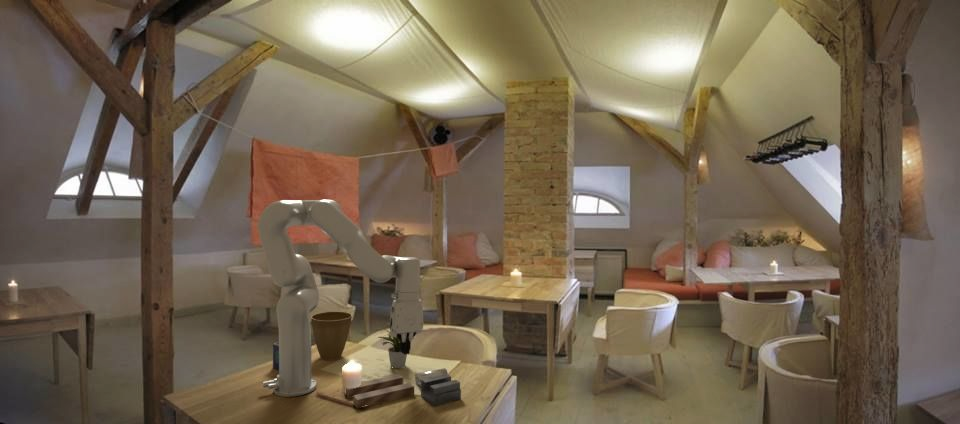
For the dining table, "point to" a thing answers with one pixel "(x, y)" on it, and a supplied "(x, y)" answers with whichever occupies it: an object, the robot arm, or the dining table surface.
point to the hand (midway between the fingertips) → (405, 352)
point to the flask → (276, 356)
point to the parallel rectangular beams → (380, 391)
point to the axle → (429, 375)
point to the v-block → (440, 390)
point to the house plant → (395, 351)
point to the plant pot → (331, 333)
